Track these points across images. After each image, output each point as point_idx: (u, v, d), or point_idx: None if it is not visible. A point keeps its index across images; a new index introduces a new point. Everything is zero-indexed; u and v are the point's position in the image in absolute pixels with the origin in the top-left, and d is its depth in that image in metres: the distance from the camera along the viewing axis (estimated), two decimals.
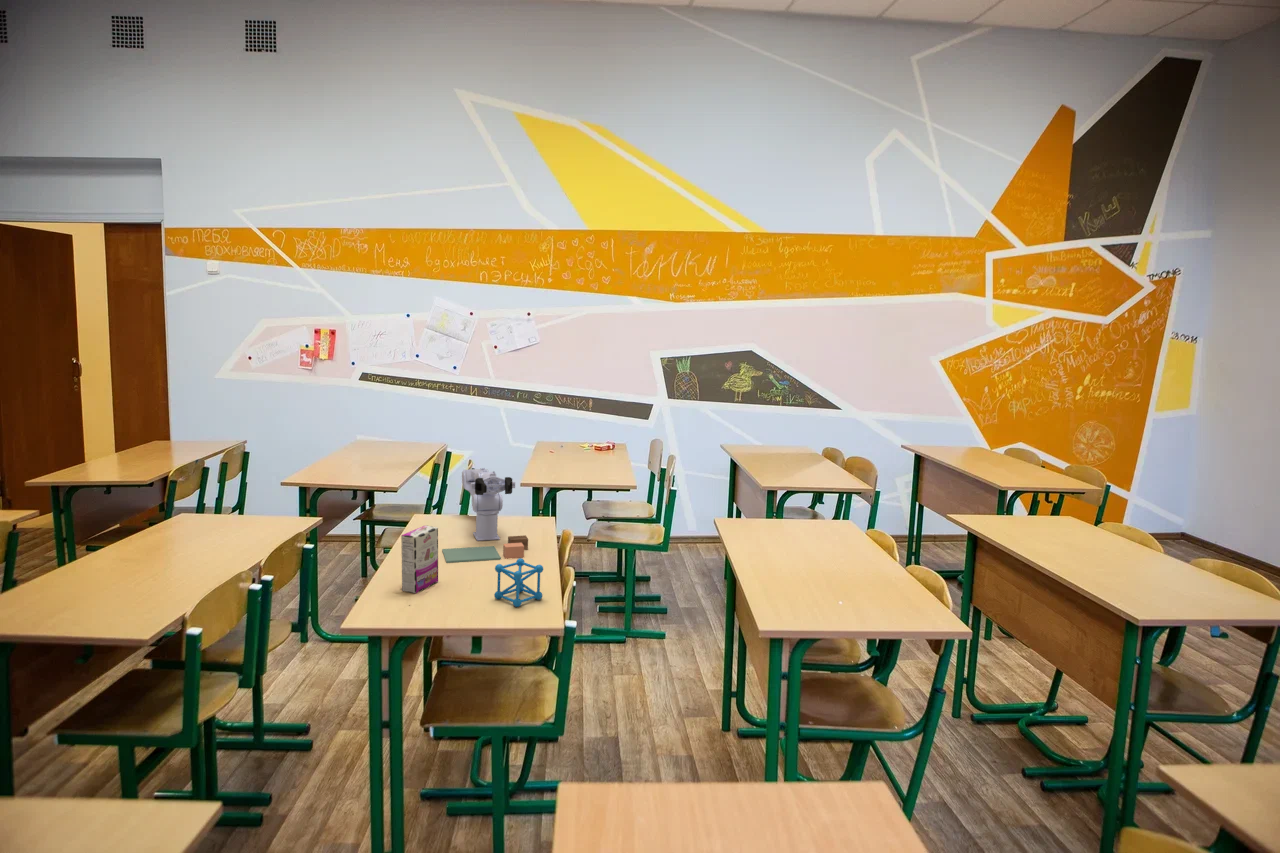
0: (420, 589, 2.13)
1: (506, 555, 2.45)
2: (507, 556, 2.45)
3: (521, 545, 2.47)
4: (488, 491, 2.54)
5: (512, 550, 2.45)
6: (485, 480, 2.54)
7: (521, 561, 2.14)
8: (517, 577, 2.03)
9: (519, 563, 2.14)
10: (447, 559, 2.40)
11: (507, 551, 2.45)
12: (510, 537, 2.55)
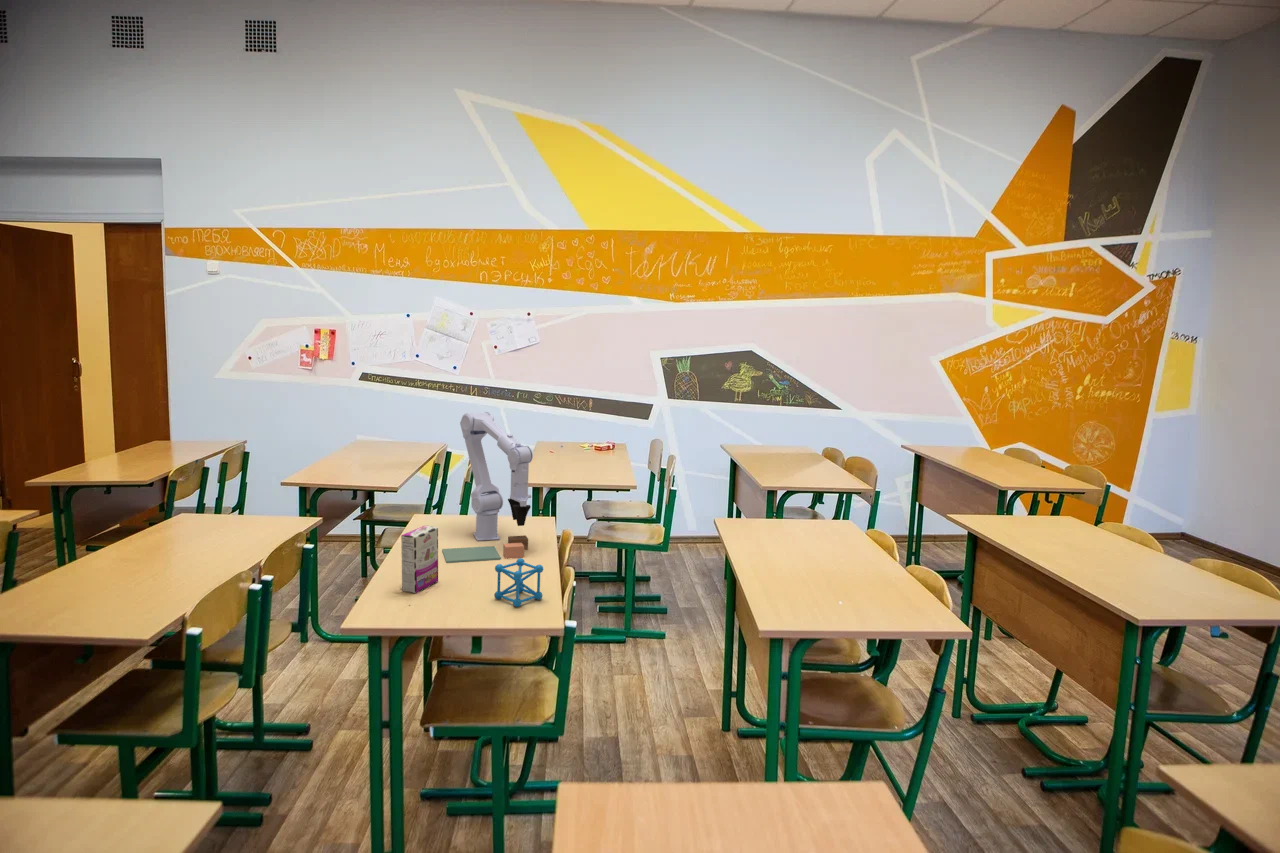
0: (420, 589, 2.13)
1: (506, 555, 2.45)
2: (507, 556, 2.45)
3: (521, 545, 2.47)
4: None
5: (512, 550, 2.45)
6: None
7: (521, 561, 2.14)
8: (517, 577, 2.03)
9: (519, 563, 2.14)
10: (447, 559, 2.40)
11: (507, 551, 2.45)
12: (510, 537, 2.55)
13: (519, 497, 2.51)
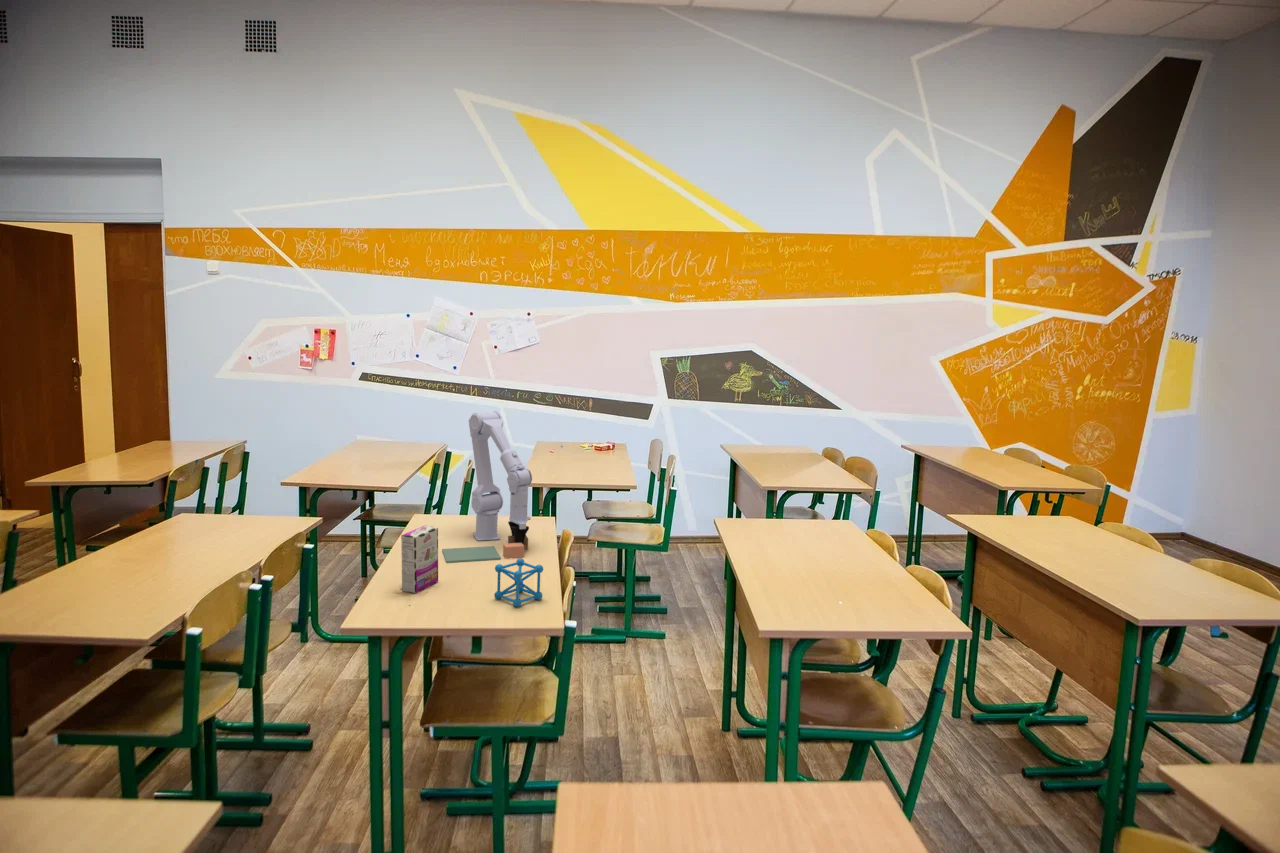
0: (420, 589, 2.13)
1: (506, 555, 2.45)
2: (507, 556, 2.45)
3: (521, 545, 2.47)
4: None
5: (512, 550, 2.45)
6: None
7: (521, 561, 2.14)
8: (517, 577, 2.03)
9: (519, 563, 2.14)
10: (447, 559, 2.40)
11: (507, 551, 2.45)
12: (510, 537, 2.55)
13: (518, 519, 2.52)
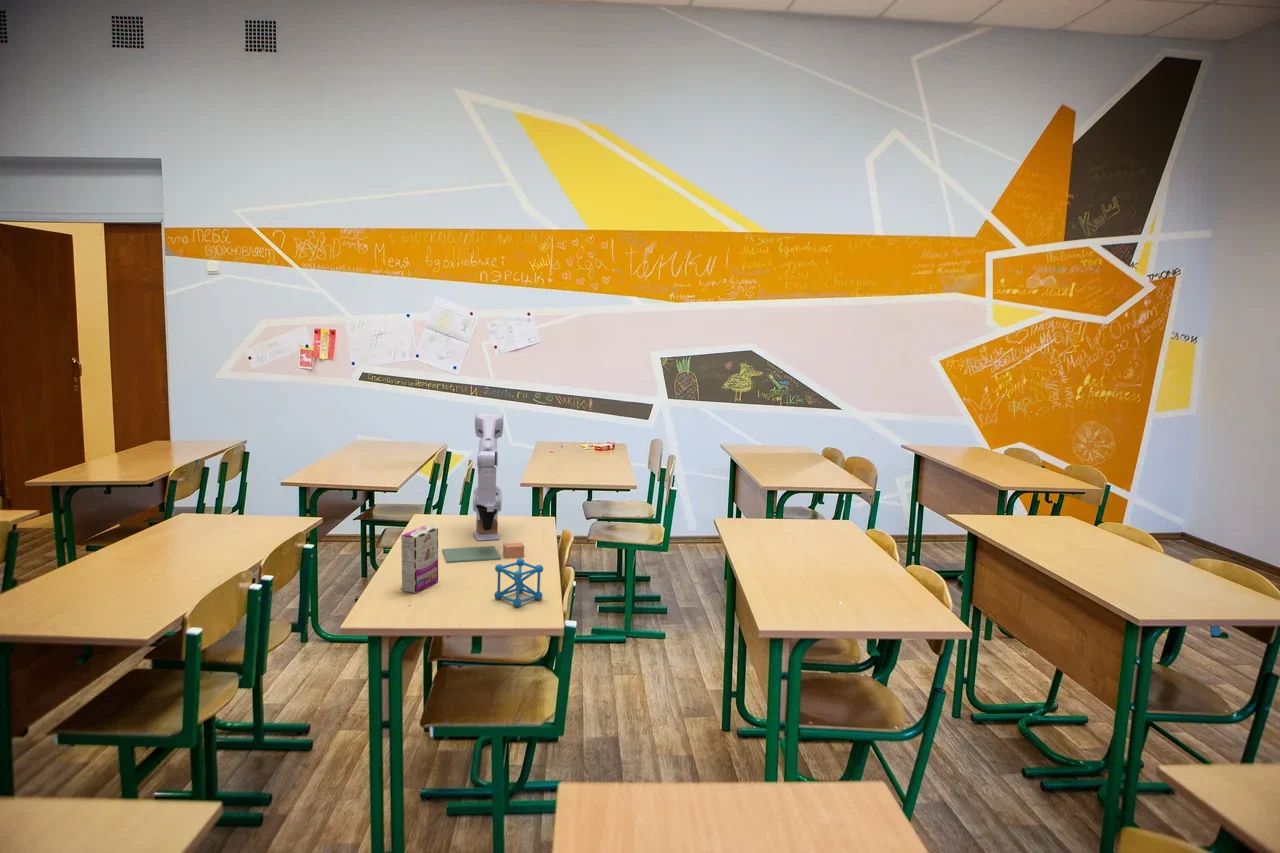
0: (420, 589, 2.13)
1: (506, 555, 2.45)
2: (507, 556, 2.45)
3: (521, 545, 2.47)
4: None
5: (512, 550, 2.45)
6: None
7: (521, 561, 2.14)
8: (517, 577, 2.03)
9: (519, 563, 2.14)
10: (447, 559, 2.40)
11: (508, 551, 2.45)
12: (479, 520, 2.48)
13: (486, 502, 2.44)
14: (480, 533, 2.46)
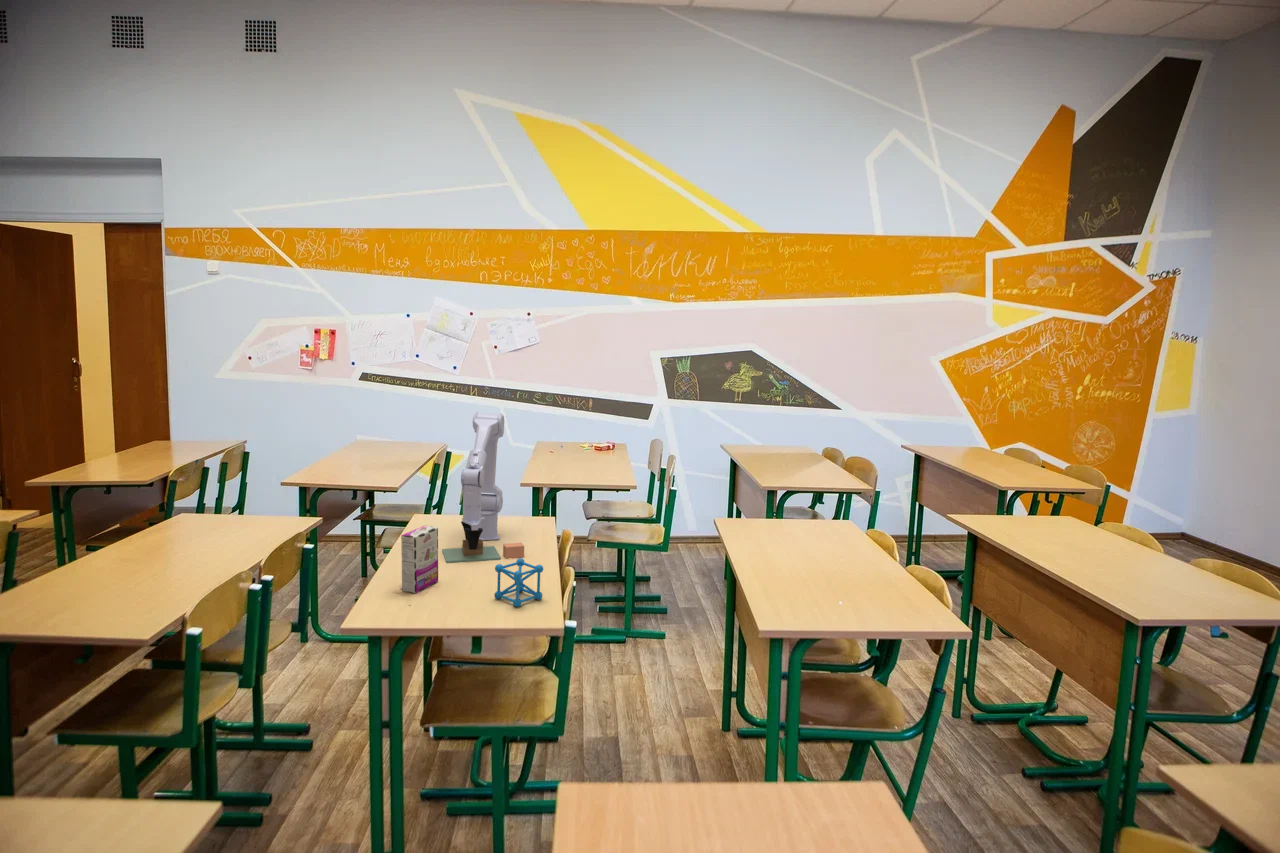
0: (420, 589, 2.13)
1: (506, 555, 2.45)
2: (507, 556, 2.45)
3: (521, 545, 2.47)
4: None
5: (512, 550, 2.45)
6: None
7: (521, 561, 2.14)
8: (517, 577, 2.03)
9: (519, 563, 2.14)
10: (447, 559, 2.40)
11: (508, 551, 2.45)
12: (464, 541, 2.46)
13: (471, 520, 2.42)
14: (465, 554, 2.44)
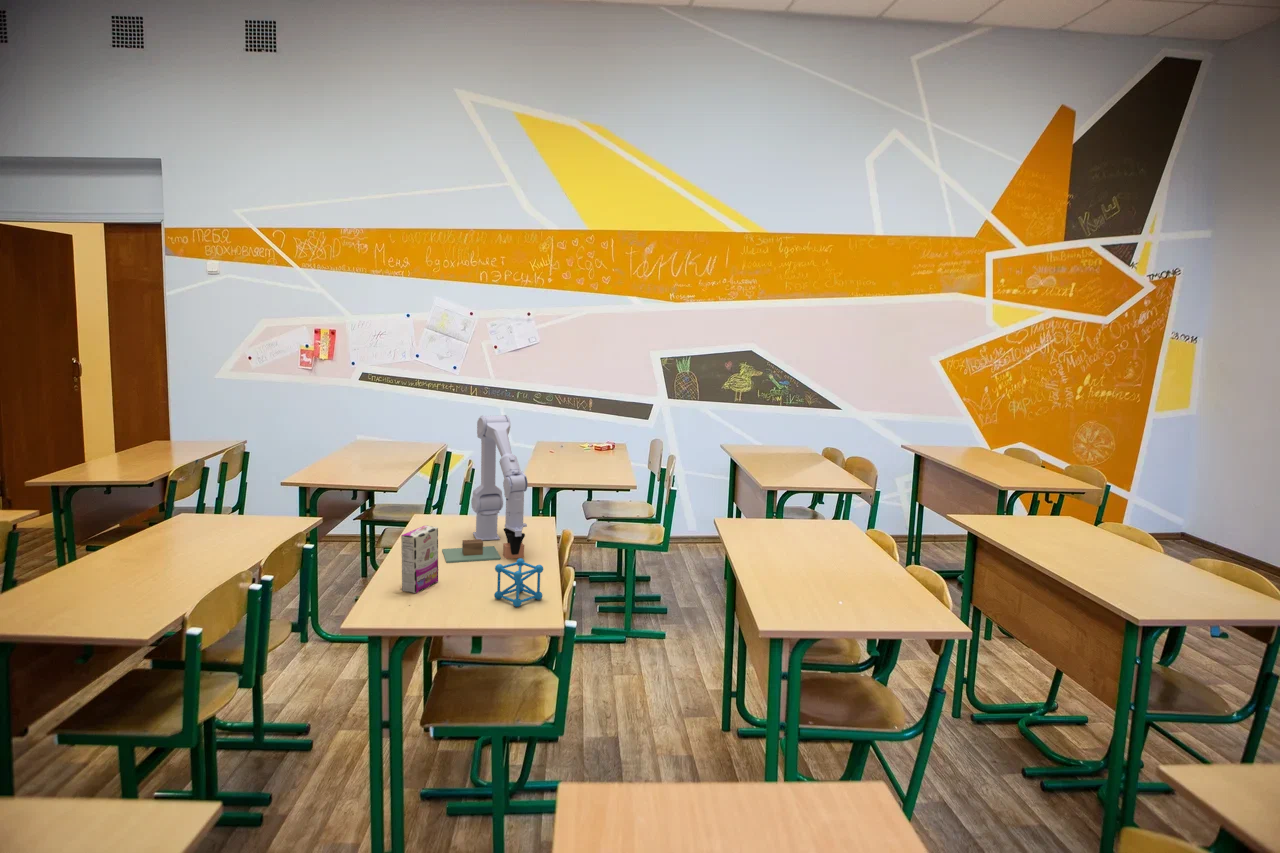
0: (420, 589, 2.13)
1: (506, 555, 2.45)
2: (507, 556, 2.45)
3: (521, 545, 2.47)
4: None
5: None
6: None
7: (521, 561, 2.14)
8: (517, 577, 2.03)
9: (519, 563, 2.14)
10: (447, 559, 2.40)
11: (508, 550, 2.45)
12: (464, 541, 2.46)
13: (514, 526, 2.44)
14: (465, 554, 2.44)
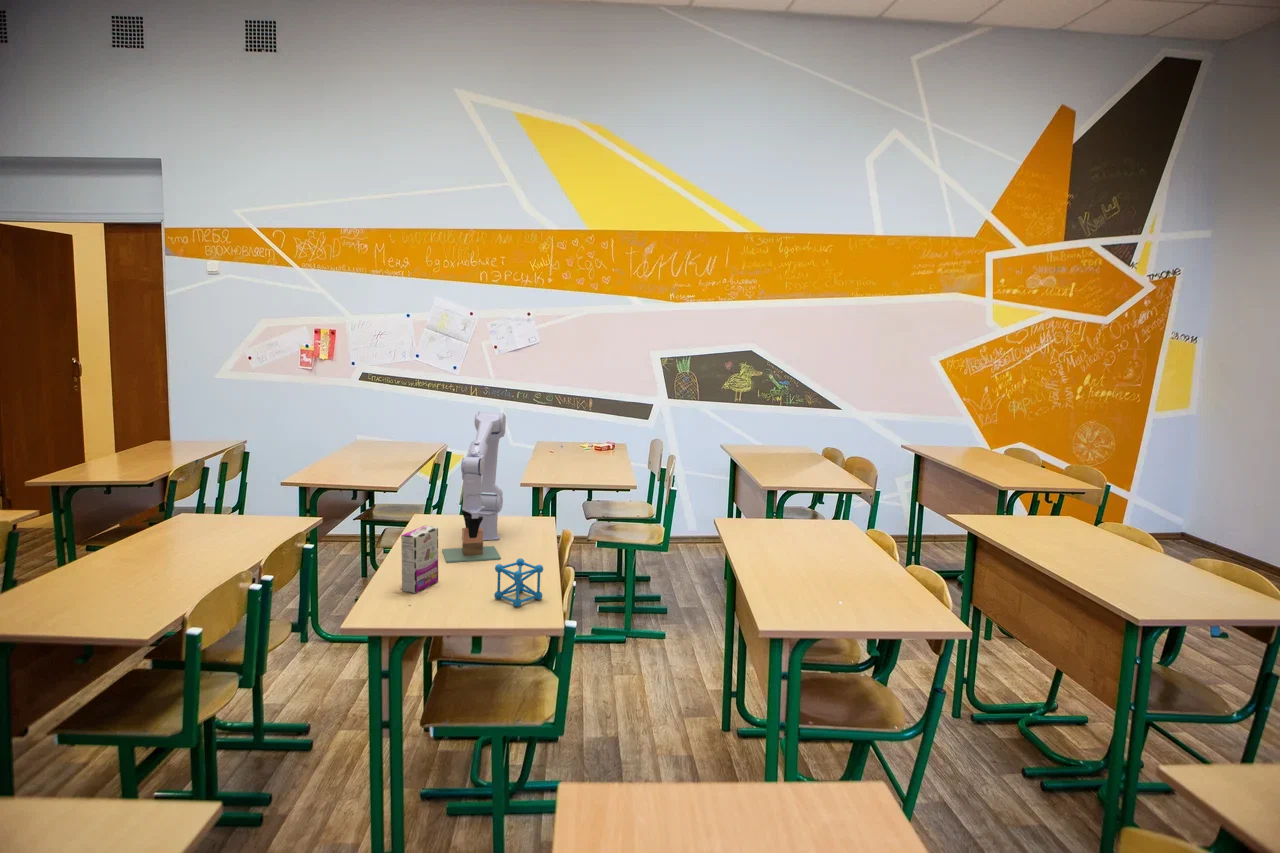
0: (420, 589, 2.13)
1: (464, 539, 2.43)
2: (465, 540, 2.44)
3: (480, 530, 2.45)
4: None
5: None
6: None
7: (521, 561, 2.14)
8: (517, 577, 2.03)
9: (519, 563, 2.14)
10: (447, 559, 2.40)
11: (466, 535, 2.43)
12: None
13: (471, 509, 2.42)
14: (465, 554, 2.44)
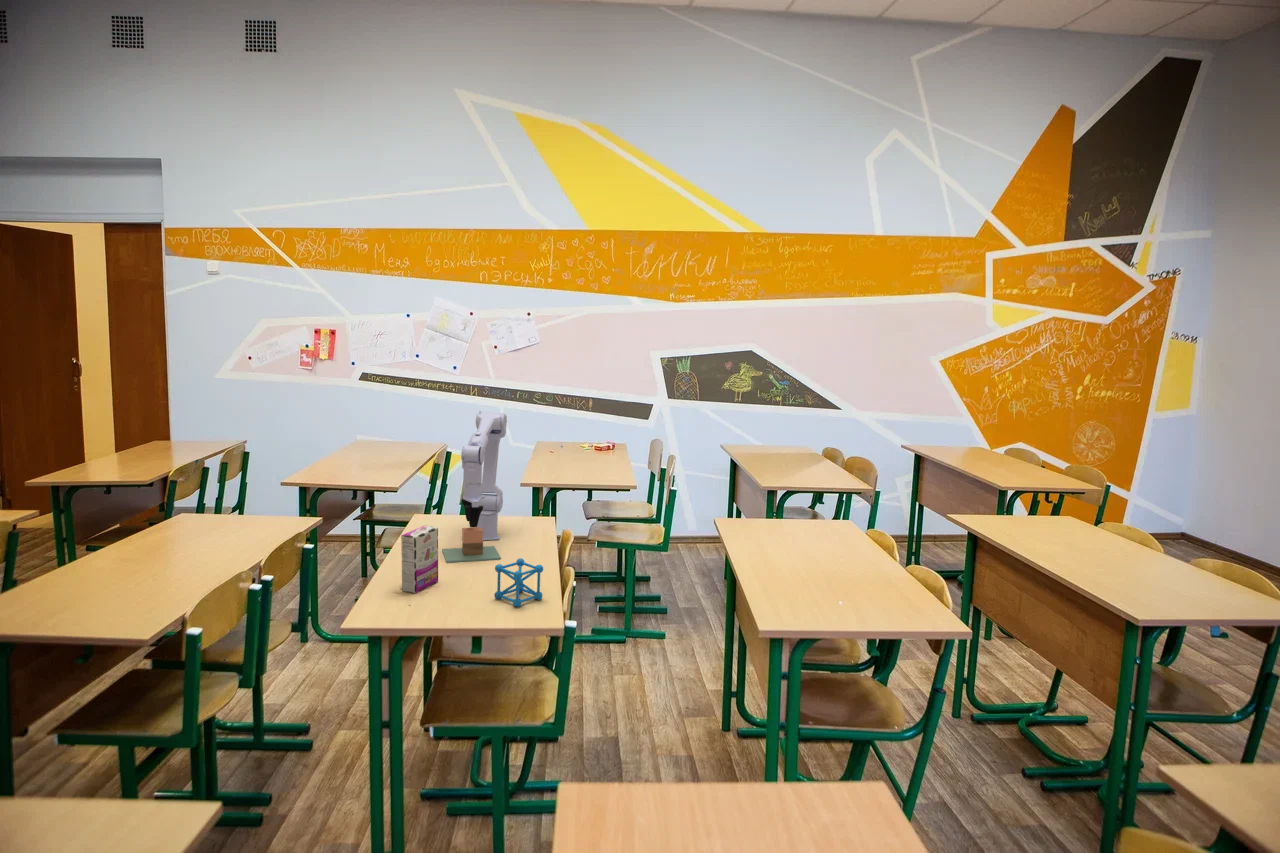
0: (420, 589, 2.13)
1: (464, 539, 2.43)
2: (465, 540, 2.44)
3: (480, 530, 2.45)
4: None
5: (471, 534, 2.44)
6: None
7: (521, 561, 2.14)
8: (517, 577, 2.03)
9: (519, 563, 2.14)
10: (447, 559, 2.40)
11: (466, 535, 2.43)
12: None
13: (472, 497, 2.41)
14: (465, 554, 2.44)
